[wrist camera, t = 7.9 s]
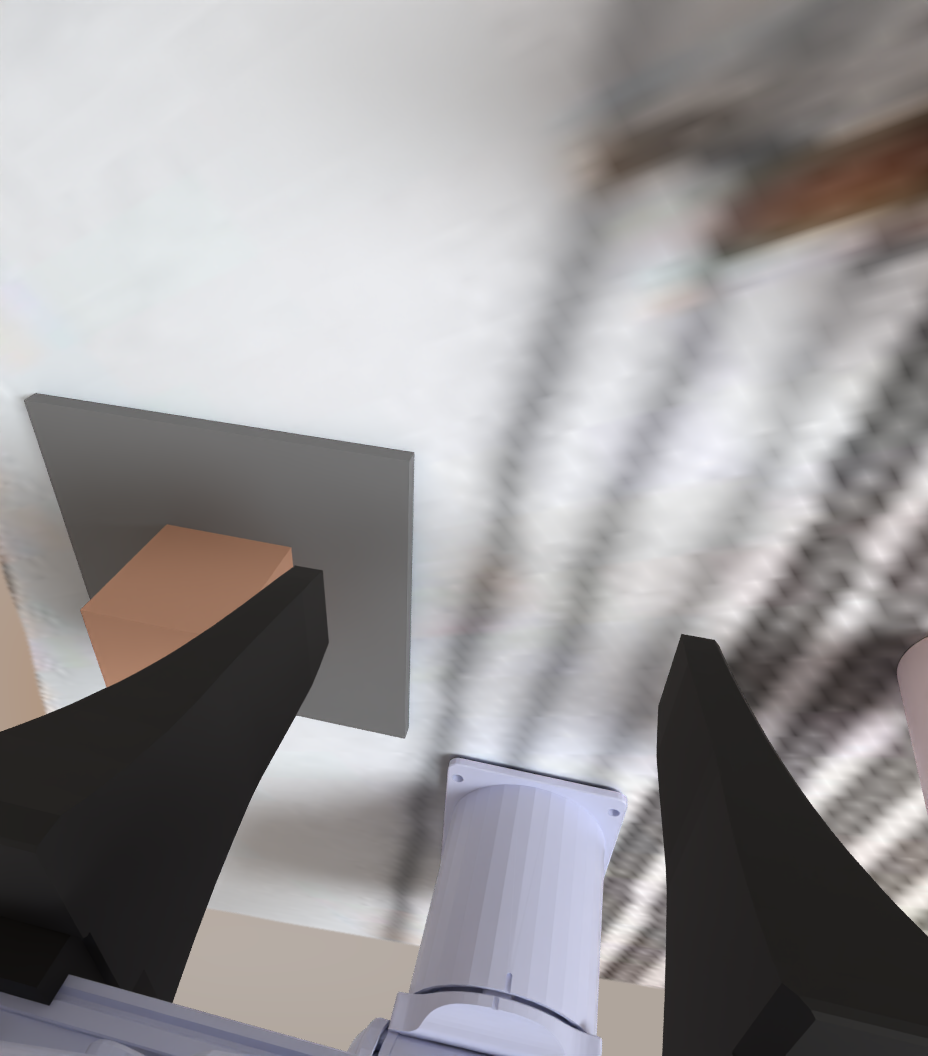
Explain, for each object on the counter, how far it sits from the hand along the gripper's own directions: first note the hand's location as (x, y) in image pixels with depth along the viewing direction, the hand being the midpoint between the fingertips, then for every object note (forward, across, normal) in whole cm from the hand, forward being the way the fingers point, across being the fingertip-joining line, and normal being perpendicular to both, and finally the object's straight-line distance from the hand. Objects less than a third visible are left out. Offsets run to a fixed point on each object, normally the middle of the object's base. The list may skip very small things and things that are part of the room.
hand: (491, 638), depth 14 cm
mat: (+9, +11, +8) cm, 17 cm away
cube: (+9, +11, +8) cm, 16 cm away
